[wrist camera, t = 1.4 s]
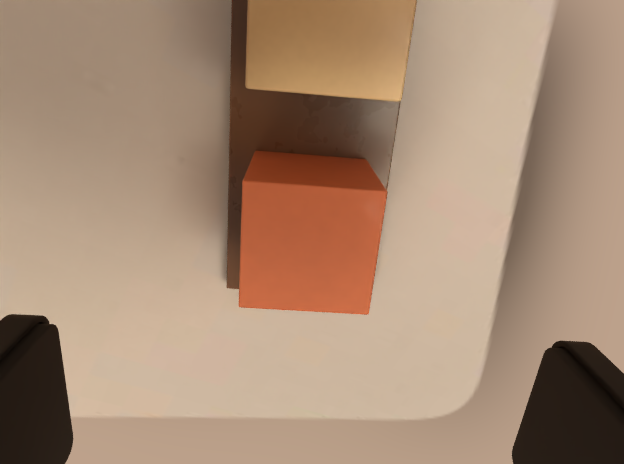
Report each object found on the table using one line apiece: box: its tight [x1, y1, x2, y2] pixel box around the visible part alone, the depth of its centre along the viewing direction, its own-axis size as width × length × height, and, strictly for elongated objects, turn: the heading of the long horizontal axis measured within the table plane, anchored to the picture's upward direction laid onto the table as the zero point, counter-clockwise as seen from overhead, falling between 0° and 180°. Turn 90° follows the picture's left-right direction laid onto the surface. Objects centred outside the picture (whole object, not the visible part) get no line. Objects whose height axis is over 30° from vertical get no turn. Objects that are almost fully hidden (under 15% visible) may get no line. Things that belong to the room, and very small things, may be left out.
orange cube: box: [239, 151, 387, 314], centre depth 16 cm, size 4×4×4 cm
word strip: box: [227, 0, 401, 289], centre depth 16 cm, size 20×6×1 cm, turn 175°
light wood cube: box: [245, 0, 417, 102], centre depth 14 cm, size 4×4×4 cm
